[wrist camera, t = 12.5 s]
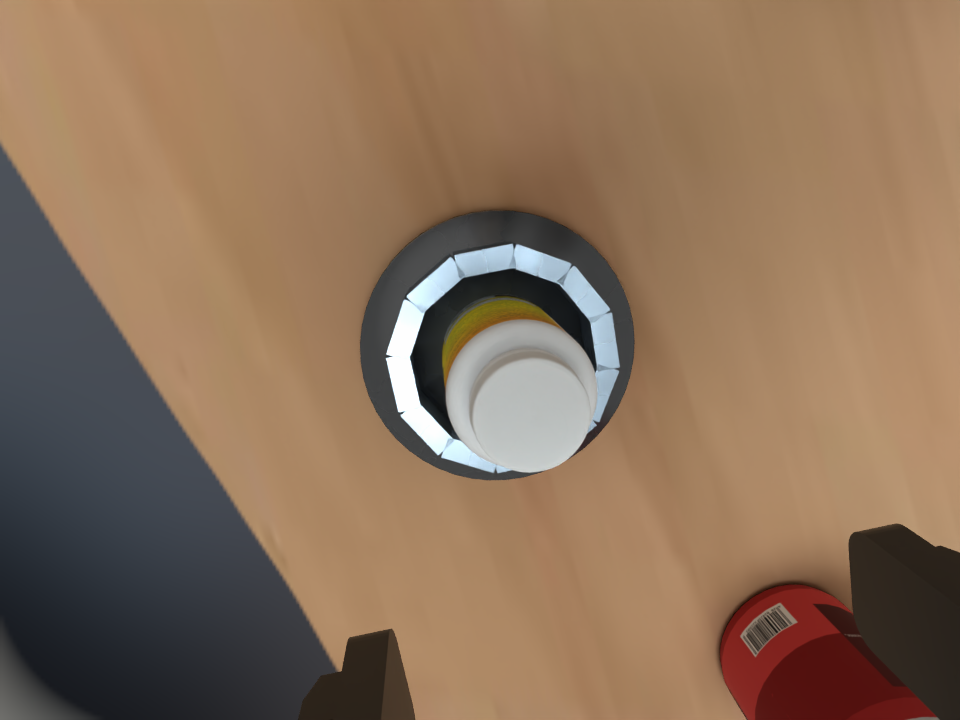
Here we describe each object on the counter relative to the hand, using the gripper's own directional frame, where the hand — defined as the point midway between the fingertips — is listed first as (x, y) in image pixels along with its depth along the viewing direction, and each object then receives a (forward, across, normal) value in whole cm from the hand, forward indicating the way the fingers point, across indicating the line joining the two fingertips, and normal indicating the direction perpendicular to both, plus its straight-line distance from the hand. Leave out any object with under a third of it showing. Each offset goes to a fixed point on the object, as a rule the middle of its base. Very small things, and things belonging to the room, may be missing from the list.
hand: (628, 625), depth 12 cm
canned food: (+22, -13, +20) cm, 32 cm away
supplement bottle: (+21, 0, 0) cm, 21 cm away
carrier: (+22, 0, 0) cm, 22 cm away
